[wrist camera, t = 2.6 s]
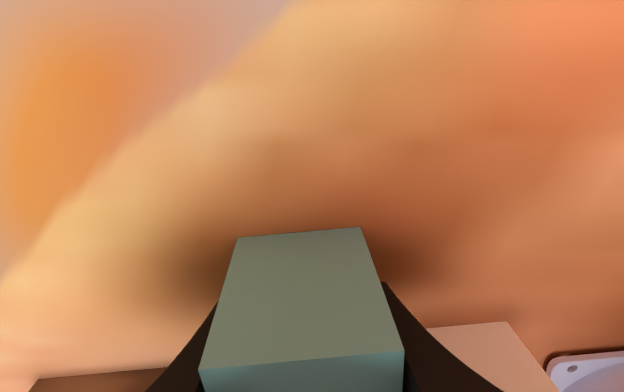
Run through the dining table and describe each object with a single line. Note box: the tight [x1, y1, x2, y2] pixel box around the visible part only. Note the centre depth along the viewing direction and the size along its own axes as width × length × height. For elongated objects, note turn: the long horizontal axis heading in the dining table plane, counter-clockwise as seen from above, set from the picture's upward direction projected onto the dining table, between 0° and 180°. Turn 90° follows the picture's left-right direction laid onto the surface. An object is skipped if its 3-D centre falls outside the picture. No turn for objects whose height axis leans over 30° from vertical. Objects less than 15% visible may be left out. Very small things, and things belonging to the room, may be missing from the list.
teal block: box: [198, 227, 405, 392], centre depth 12 cm, size 5×5×6 cm
